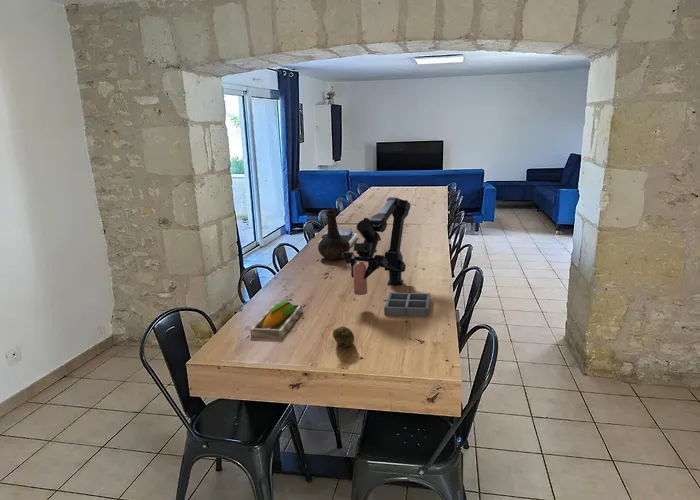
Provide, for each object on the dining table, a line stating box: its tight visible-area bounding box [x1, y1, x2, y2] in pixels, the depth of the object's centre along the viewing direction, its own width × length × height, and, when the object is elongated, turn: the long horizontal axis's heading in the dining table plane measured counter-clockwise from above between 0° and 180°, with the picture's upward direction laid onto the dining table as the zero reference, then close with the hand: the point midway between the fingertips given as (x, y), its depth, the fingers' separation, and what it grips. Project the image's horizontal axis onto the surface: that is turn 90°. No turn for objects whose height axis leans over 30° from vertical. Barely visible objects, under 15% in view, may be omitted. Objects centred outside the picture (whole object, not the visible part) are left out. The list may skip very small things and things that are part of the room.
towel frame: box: [317, 232, 358, 248], centre depth 306 cm, size 23×20×3 cm
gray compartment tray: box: [383, 292, 431, 317], centre depth 197 cm, size 17×17×3 cm
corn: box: [262, 300, 295, 329], centre depth 186 cm, size 7×8×20 cm
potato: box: [332, 326, 355, 348], centre depth 165 cm, size 8×13×8 cm, turn 168°
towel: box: [321, 227, 353, 241], centre depth 305 cm, size 15×18×8 cm
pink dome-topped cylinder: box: [352, 261, 368, 296], centre depth 195 cm, size 5×5×13 cm
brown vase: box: [317, 208, 351, 261], centre depth 269 cm, size 18×18×28 cm
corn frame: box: [249, 303, 303, 339], centre depth 187 cm, size 25×12×3 cm, turn 168°
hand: (358, 277), depth 194 cm, fingers closed on pink dome-topped cylinder, 5 cm apart
